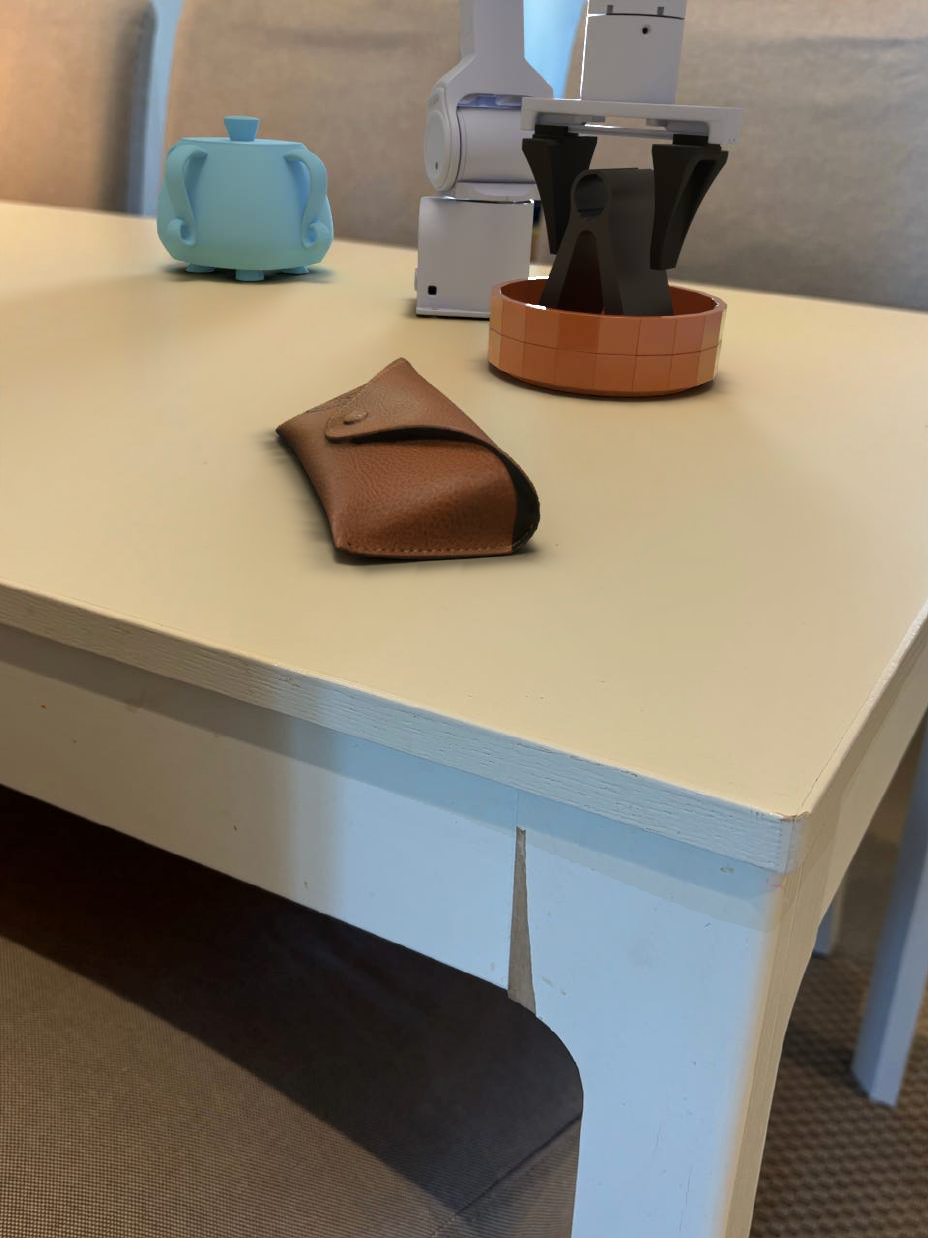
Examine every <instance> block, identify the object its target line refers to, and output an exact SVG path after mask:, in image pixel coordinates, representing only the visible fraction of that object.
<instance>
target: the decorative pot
mask: <svg viewBox="0 0 928 1238" xmlns="http://www.w3.org/2000/svg"><path fill="white" fill-rule="evenodd" d="M222 120H223V124H224V127H225V130H226V132H227V135H228V137H223V136H221V137H219V136H218V137H217V136H215V137H214V136H209V137H207V136H206V137H202V136H201V137H200V136H199V137H195V136H194V137H180V139H179V140H177V141H176V142H175V143H173V144H172V145H171V146H170V147H169V149H168V151H167V152H166V156H165V163H164V176H163V179H162V182H161V185H160V186H161V187H160V190H159V195H158V202H157V210H156V233H157V236H158V239H159V240H160V242H161V244H162V245H163V247H164V248H165V250H166V252H167V253H168V254H169V256H170V257H171V258H172V259H174V260H176V261H179V262H183V263H187V264H188V266H187V267H186V269H185V271H186V272H190V273H211V272H214V271H215V269H216V268H220V269H230V270H235V280H239V281H245V282H247V281H248V282H249V281H251V282H254V281H256V282H257V281H263V280H265V276H264V271H274V270H280V271H281V272H282V273H285V274H296V275H297V274H307V273H309V270H308V268H307V266H312V265H313V266H314V265H317V264H320V263H321V262H322V261H323V260H324V258H325V257H326V255H327V253H328V251H329V250H330V248H331V247H332V244H333V242H334V224H333V215H332V211H331V205H330V200H329V198H328V195H327V192H328V172H327V169H326V166H325V164H324V163H323V161H322V159H320V157H319V156H318V155H316V154H315V153H313V152H312V151H309V150H308V148H307V146H306V145H304V143H303V142H297V141H296V142H295V141H289V140H288V141H287V140H280V139H279V140H278V139H264V138H256V136H257V132H258V130H259V125H260V119H259V118H257V117H254V116H246V115H245V116H244V115H228V116H224V117H223V118H222Z"/></svg>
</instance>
